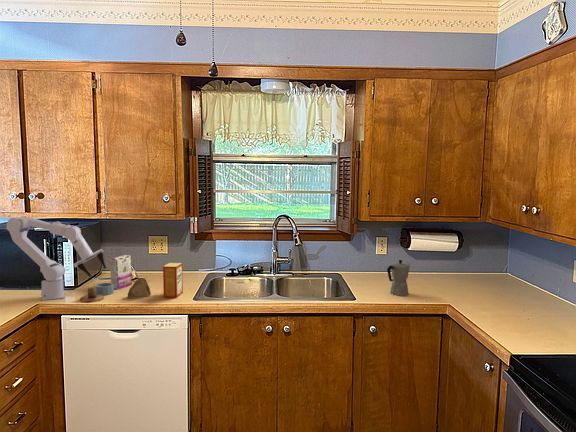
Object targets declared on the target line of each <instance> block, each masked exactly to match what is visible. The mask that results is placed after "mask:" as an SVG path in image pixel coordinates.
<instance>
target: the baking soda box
mask: <svg viewBox="0 0 576 432" xmlns="http://www.w3.org/2000/svg"><path fill="white" fill-rule="evenodd" d="M162 268H163V269H162V278H163V281H162V283H163V285H162V287H163V298H164V299H177V298H178V297H180V296H181V295H182V294H184V293H183V290H184V289H183V285H184V284H183V263H182V262H168V263H165V265H163V266H162Z"/></svg>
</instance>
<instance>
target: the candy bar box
mask: <svg viewBox="0 0 576 432" xmlns="http://www.w3.org/2000/svg"><path fill="white" fill-rule="evenodd" d="M109 263H110V264H109V265H110V267H109V270H110V283H113V284H114V290H120V289H124V288H127V287H129V286H131V285H132V286H133V278H132V277H133V276H132V274H133V273H132V255H128V254H124V255H120V256H117V257H116V256H115V257H112V258H109Z"/></svg>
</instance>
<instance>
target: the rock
mask: <svg viewBox="0 0 576 432" xmlns="http://www.w3.org/2000/svg"><path fill="white" fill-rule="evenodd" d="M148 283H149V282H148V281H147V280H146V278H145V277H139V278H138V279H136V280H135V281H134V283H132V286H131V287H129V290H128V293H127V297H126V298H127V299H133V298H144V297H150V296H151V295H152V293H151V290H150V286H149V284H148Z"/></svg>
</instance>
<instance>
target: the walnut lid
mask: <svg viewBox="0 0 576 432" xmlns="http://www.w3.org/2000/svg"><path fill="white" fill-rule="evenodd" d="M104 297H105V295H96V288H95V287H89V288H87V295H84V296H81V297H80V298H79V301H80V302H81V303H86V304H89V303H97V302H101V301H102V300H104V299H105V298H104Z"/></svg>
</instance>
